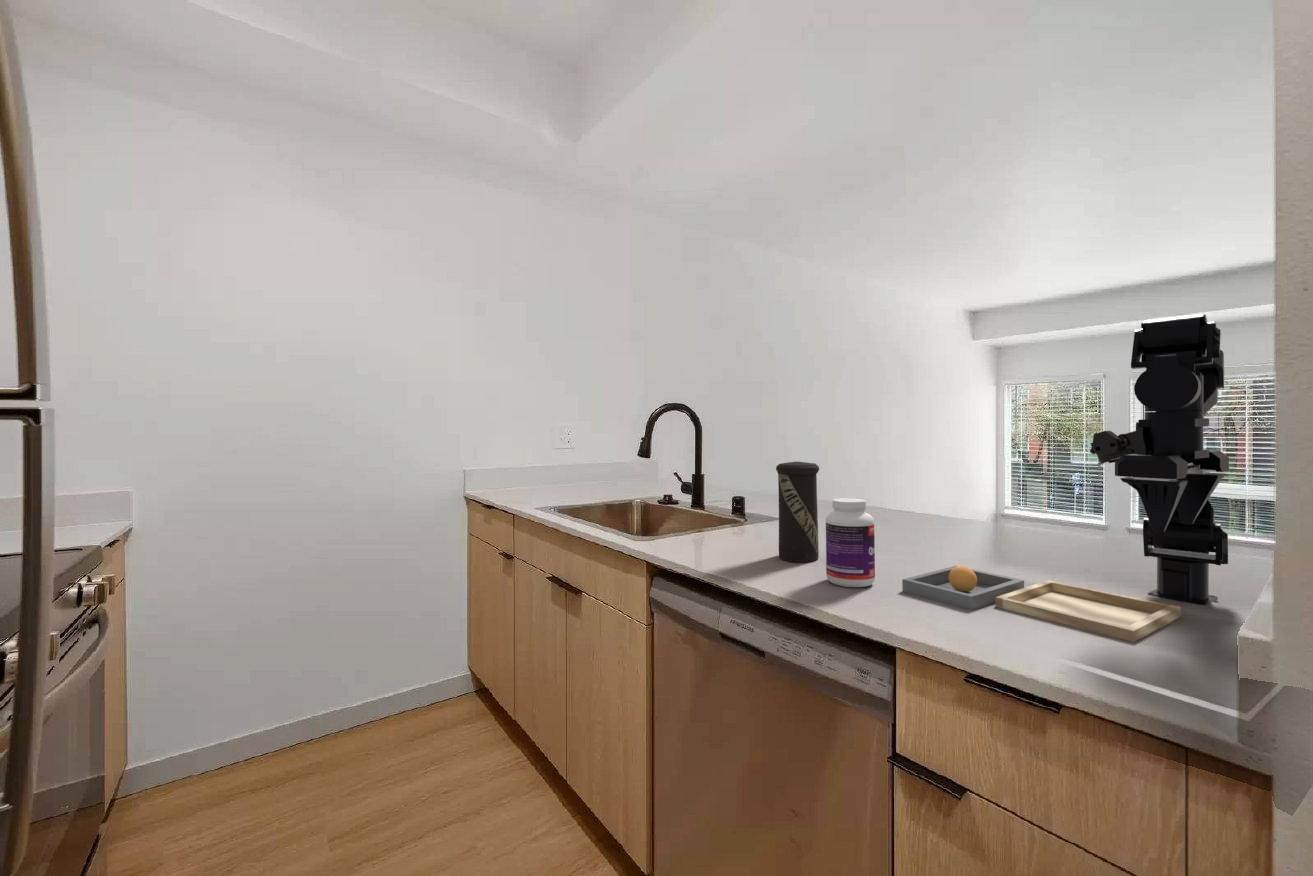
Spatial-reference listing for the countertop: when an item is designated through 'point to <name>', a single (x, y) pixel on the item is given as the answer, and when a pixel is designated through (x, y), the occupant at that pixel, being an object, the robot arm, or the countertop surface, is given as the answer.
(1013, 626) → the countertop surface
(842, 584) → the pill bottle
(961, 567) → the ball
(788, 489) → the container
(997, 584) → the tray
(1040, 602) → the dish
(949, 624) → the countertop surface
